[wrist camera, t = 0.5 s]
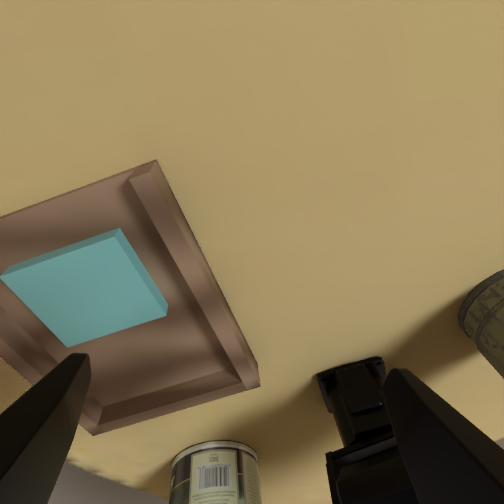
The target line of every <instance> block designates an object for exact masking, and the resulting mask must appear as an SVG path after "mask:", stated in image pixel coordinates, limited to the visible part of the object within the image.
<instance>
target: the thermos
mask: <svg viewBox="0 0 504 504" xmlns="http://www.w3.org/2000/svg"><path fill="white" fill-rule="evenodd" d="M458 317H459V325H460V327H461V328H462V329H463V331H464V332H465V333H466V334H467V335H468V337H469V338H471V339H472V340H473V341H474V342H475V343H476V345H477V347H478V349H479V351H480V352H481V353H482V355H483V356H484V357H485V358H486V359H487V360H488V362H489V363H490V364H491V365H492V366H493V367H494V368H495V369H496V370H497V372H498V373H499V374H500V375H501V376H502V377H503V378H504V270H502V271H499V272H497V273H496V274H494V275H492V276H491V277H489V278H488V279H486V280H484V281H483V282H482V283H481V284H479V285H478V286H477V287H476V288H475V289H474V290H473V291H472V292H471V293H470V294H469V296H468V297H467V298H466V300H465V301H464V303H463V304H462V306H461V310H460V313H459V316H458Z"/></svg>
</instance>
